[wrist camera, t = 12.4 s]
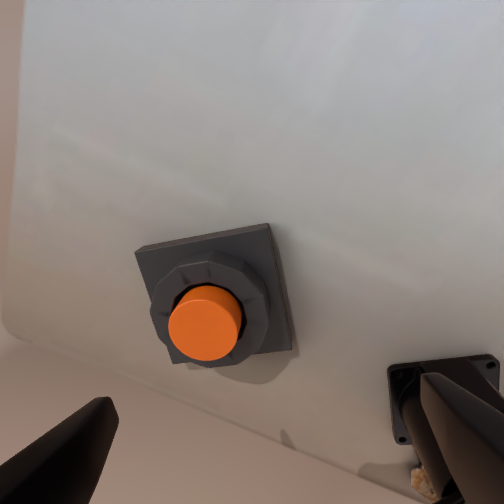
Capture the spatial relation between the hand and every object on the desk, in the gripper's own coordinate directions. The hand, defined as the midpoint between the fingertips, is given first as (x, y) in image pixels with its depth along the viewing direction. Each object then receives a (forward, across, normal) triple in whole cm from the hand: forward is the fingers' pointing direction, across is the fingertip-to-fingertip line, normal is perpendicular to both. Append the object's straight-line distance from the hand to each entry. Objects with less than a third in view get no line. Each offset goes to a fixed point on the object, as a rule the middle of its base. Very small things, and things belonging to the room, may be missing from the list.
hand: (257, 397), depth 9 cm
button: (+8, +3, +1) cm, 9 cm away
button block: (+10, +3, +1) cm, 11 cm away
